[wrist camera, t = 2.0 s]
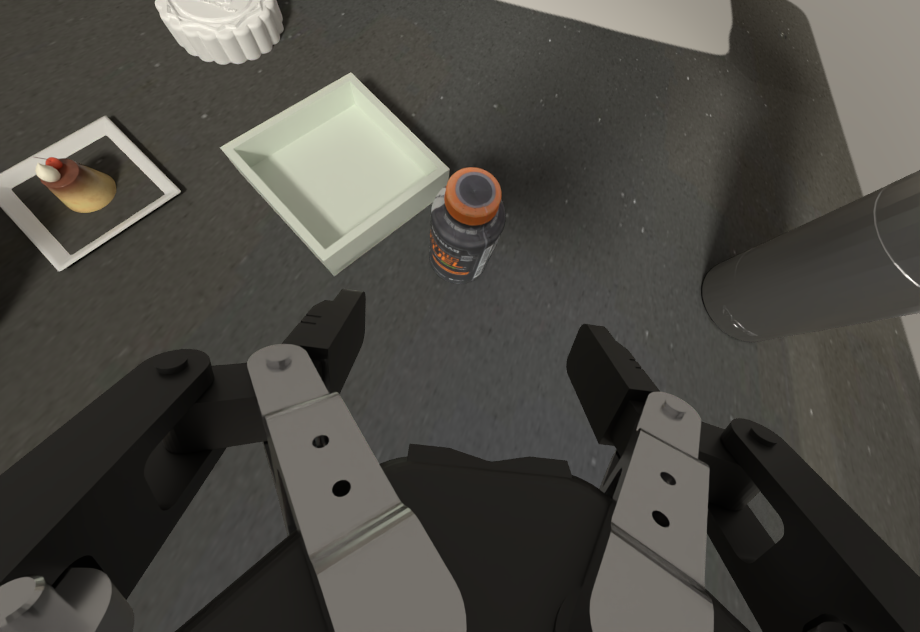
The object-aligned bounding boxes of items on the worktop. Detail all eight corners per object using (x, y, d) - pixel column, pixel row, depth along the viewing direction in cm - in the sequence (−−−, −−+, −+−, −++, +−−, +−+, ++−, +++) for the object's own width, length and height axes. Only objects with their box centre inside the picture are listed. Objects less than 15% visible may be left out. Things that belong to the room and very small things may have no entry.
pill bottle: (417, 261, 33) (413, 192, 22) (452, 221, 35) (465, 138, 24) (463, 296, 33) (483, 244, 22) (497, 255, 34) (532, 186, 23)
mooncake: (301, 9, 40) (289, -28, 37) (257, 80, 37) (240, 46, 33) (206, -22, 40) (185, -63, 36) (153, 46, 37) (125, 9, 33)
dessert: (115, 123, 34) (67, 80, 29) (189, 198, 33) (151, 165, 28) (-5, 191, 31) (-80, 155, 26) (71, 276, 30) (7, 253, 25)
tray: (357, 102, 37) (350, 72, 34) (447, 191, 35) (449, 169, 32) (240, 173, 33) (220, 147, 30) (334, 276, 32) (323, 261, 28)
